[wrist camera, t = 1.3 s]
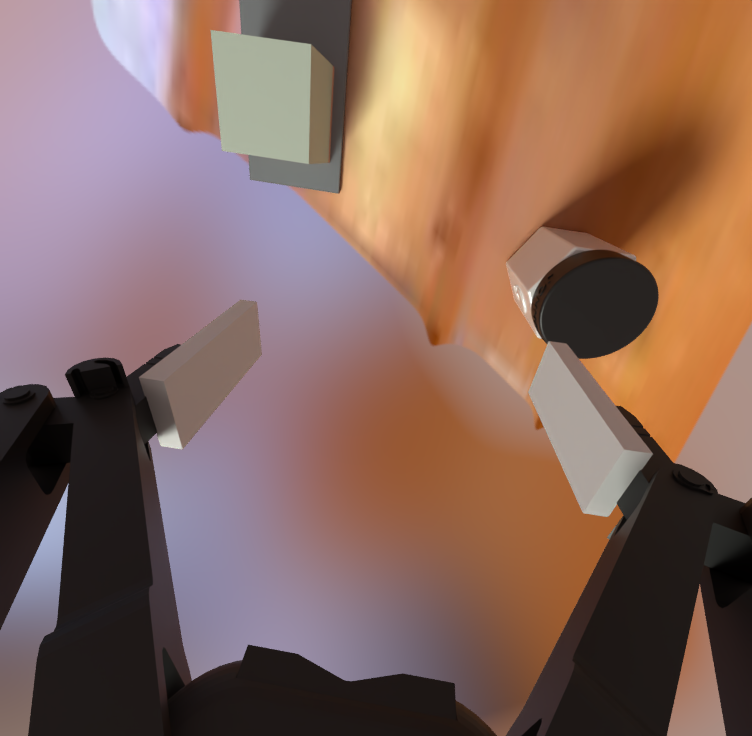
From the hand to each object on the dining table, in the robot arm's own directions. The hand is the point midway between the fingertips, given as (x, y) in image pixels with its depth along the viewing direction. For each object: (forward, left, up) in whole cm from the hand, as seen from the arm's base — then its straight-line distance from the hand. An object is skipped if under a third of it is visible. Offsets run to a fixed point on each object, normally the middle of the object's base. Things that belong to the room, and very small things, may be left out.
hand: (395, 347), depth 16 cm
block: (-9, -13, -23) cm, 28 cm away
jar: (+1, +14, -24) cm, 28 cm away
